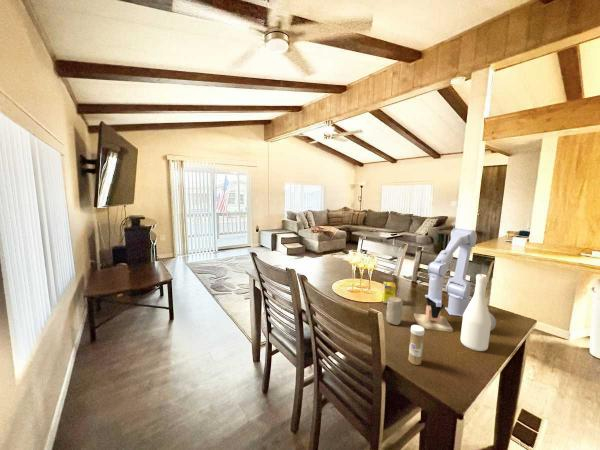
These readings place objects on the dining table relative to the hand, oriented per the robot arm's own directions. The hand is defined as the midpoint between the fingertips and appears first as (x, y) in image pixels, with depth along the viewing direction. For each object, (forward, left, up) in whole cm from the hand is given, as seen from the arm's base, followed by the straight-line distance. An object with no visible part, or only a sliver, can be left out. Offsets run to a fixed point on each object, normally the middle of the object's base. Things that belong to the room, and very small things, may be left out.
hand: (432, 314), depth 124 cm
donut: (-20, +2, -4) cm, 21 cm away
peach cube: (0, 0, -2) cm, 2 cm away
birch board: (0, 0, -4) cm, 4 cm away
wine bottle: (-12, +15, -4) cm, 20 cm away
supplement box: (+18, -19, -4) cm, 27 cm away
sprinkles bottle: (+14, +32, -4) cm, 35 cm away
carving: (+18, +4, -4) cm, 19 cm away
